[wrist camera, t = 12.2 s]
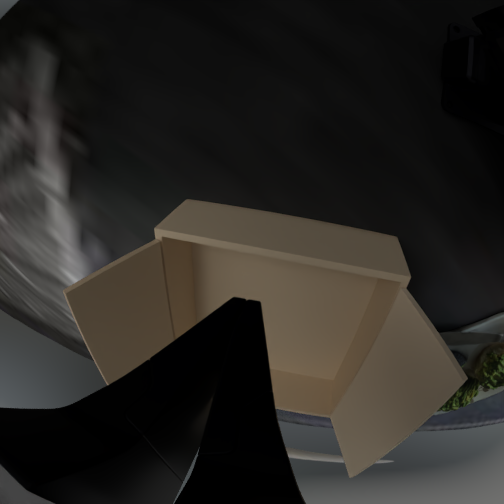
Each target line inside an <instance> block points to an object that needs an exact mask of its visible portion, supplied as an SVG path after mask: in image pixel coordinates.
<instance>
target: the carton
mask: <svg viewBox="0 0 504 504" xmlns="http://www.w3.org/2000/svg"><path fill="white" fill-rule="evenodd" d="M154 229H155V238H156V239H157V240H158V241H160V247H161V256H162V264H163V272H164V280H165V287H166V294H167V301H168V307H169V313H170V319H171V325H172V331H173V337H174V340H175V339H177V338H178V337H179V336H181V335H182V334H184V333H185V332H186V331H188V330H189V329H190V328H192V327H193V326H194V325H196V324H197V323H198V322H200V321H201V320H203V319H204V318H205V317H207V316H208V315H209V314H211V313H212V312H213V311H215V310H216V309H217V308H219V307H220V306H221V305H223V304H224V303H225V302H227V301H228V300H229V299H231V298H232V297H240V298H245V299H246V300H248V299H251V300H257V301H260V302H261V305H262V312H263V320H264V327H265V334H266V342H267V349H268V357H269V364H270V372H271V379H272V387H273V393H274V401H275V407H276V409H281V410H286V411H291V412H297V413H302V414H308V415H315V416H322V417H329V418H330V416H331V415H332V413H333V412H334V410H335V409H336V407H337V406H338V404H339V403H340V401H341V399H342V398H343V396H344V395H345V393H346V392H347V390H348V388H349V387H350V385H351V383H352V382H353V380H354V378H355V377H356V375H357V373H358V372H359V370H360V368H361V366H362V365H363V363H364V361H365V359H366V357H367V356H368V354H369V352H370V350H371V348H372V346H373V344H374V343H375V341H376V339H377V337H378V335H379V333H380V331H381V329H382V327H383V325H384V323H385V321H386V319H387V317H388V315H389V313H390V311H391V308H392V306H393V304H394V302H395V300H396V298H397V295H398V293H399V291H400V289H401V288H407V285H408V283H409V281H410V279H411V275H410V272H409V269H408V266H407V263H406V260H405V257H404V254H403V252H402V249H401V246H400V243H399V241H398V238H397V237H396V236H391V235H387V234H382V233H377V232H373V231H368V230H363V229H358V228H353V227H349V226H344V225H339V224H333V223H328V222H323V221H318V220H313V219H307V218H302V217H296V216H291V215H285V214H279V213H274V212H268V211H262V210H256V209H250V208H244V207H237V206H231V205H225V204H218V203H212V202H205V201H198V200H191V199H186V200H185V201H184V202H183V203H182V204H181V205H180V206H178V207H177V208H176V209H175V210H174V211H173V212H172V213H171V214H169V215H168V216H167V217H166V218H165V219H164V220H163V221H162V222H161V223H160V224H158V225H157V226H156V227H155V228H154Z"/></svg>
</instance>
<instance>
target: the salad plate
mask: <svg viewBox="0 0 504 504" xmlns="http://www.w3.org/2000/svg"><path fill="white" fill-rule="evenodd" d="M439 334H440V336H441V337H442V339H443V340H444V342H445V343H446V345H447V346H448V348H449V349H450V351H451V352H452V354H453V355H454V357H455V358H456V360H457V362H458V363H459V365H460V366H461V368H462V370H463V371H464V373H465V374H466V376H467V378H468V379H467V380H466V381H465V382H464V383H463V385H462V386H461V387H460V388H459V389H458V390H457V391H456V392H455V393H454V394H453V395H452V396H451V397H450V398H449V399H448V400H447V402H446V403H445V404H444V405H443V406H442V407H441V408H439V409H438V410H437V411H436V412H435V413H434V414H433V415H437V414H443V413H446V412H450V411H452V410H457V409H458V408H460V407H465V406H466V405H468V404H471V403H474V402H476V401H478V400H482V399H485V398H487V397H490V396H492V395H494V394H497V393H499V392H501V391H503V390H504V312H502V313H499V314H496V315H494V316H491V317H489V318H486V319H484V320H481V321H479V322H476V323H473V324H470V325H467V326H463V327H460V328H457V329H454V330H451V331H447V332H441V333H439Z"/></svg>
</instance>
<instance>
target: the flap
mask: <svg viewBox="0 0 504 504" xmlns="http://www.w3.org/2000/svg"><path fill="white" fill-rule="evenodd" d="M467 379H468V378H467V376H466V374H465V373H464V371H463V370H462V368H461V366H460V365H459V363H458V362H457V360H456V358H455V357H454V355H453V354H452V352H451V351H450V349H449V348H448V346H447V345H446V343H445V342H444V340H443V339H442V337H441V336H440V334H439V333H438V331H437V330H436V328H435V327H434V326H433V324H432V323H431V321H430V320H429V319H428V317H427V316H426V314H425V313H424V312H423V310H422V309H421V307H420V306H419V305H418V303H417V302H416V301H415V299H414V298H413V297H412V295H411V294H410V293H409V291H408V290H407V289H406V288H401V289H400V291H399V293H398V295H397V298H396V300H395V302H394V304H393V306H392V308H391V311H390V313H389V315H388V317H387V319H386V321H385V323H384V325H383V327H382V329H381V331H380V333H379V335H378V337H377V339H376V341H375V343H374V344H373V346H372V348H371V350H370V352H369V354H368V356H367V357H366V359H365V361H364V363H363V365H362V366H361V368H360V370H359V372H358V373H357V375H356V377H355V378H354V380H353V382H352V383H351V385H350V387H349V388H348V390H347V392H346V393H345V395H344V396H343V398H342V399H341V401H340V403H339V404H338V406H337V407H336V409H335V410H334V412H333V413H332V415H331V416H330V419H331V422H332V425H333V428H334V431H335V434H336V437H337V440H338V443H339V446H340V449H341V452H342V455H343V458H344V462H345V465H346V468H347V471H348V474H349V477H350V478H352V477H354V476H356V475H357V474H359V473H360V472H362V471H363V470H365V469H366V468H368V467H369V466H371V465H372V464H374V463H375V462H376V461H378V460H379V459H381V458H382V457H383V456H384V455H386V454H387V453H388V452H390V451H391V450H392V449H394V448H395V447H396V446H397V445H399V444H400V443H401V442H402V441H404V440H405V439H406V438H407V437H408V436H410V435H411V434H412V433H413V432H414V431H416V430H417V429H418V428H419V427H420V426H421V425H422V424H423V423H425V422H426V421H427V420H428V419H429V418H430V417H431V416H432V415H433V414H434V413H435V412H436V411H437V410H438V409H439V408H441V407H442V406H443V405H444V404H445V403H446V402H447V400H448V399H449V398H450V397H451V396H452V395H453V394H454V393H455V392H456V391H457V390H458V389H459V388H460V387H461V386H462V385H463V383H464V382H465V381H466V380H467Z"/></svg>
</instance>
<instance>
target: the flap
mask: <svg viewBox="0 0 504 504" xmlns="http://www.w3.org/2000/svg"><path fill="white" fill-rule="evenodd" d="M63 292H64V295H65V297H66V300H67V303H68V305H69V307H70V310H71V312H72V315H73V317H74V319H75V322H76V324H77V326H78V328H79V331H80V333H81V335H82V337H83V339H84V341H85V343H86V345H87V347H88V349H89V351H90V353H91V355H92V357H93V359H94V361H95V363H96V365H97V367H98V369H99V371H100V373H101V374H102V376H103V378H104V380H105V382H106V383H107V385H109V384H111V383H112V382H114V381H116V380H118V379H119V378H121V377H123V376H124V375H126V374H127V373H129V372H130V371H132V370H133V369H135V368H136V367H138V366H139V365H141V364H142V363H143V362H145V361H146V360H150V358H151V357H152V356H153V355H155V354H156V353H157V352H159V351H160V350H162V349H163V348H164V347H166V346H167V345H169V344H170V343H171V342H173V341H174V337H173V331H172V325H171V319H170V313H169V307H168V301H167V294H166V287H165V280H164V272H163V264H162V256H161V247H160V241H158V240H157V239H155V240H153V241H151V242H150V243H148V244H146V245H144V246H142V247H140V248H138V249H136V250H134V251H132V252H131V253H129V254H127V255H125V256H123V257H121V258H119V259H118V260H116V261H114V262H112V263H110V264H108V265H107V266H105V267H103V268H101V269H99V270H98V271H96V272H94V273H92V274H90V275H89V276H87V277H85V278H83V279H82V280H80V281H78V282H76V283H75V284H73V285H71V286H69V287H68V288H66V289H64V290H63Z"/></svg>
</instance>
